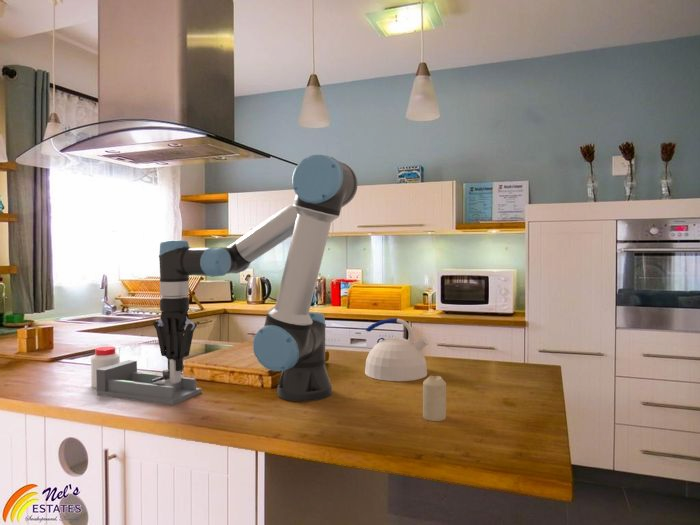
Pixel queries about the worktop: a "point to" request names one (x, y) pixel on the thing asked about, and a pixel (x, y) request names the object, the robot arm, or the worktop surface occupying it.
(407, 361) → the kettle
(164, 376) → the slider
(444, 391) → the white shouldered cylinder
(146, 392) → the gauge bed
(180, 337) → the robot arm
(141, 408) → the worktop surface
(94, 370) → the pill bottle
